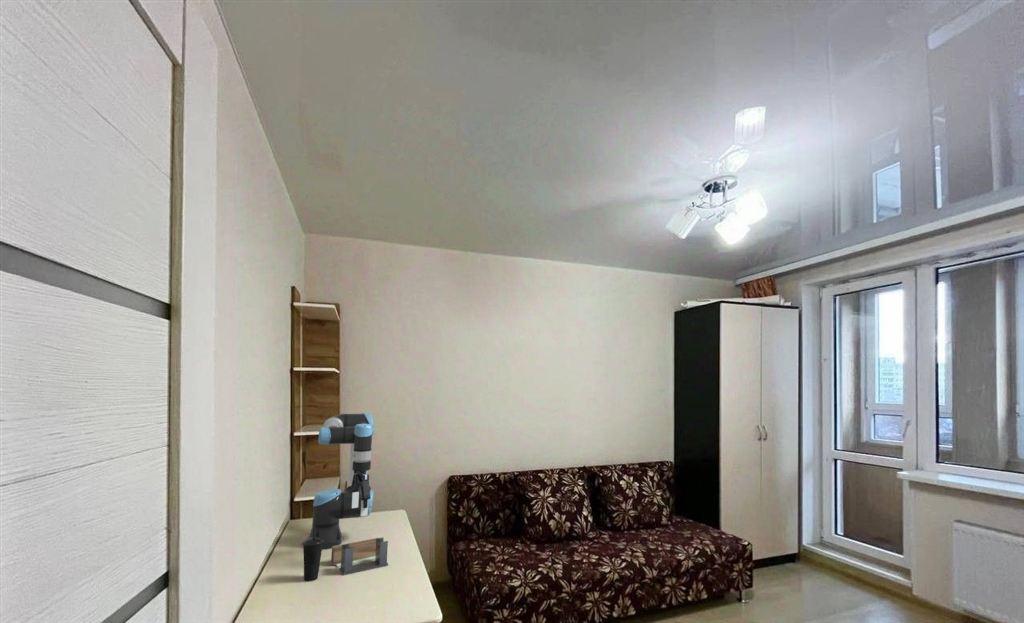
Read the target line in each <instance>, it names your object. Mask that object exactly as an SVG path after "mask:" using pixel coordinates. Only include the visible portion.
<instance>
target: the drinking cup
mask: <svg viewBox="0 0 1024 623" xmlns="http://www.w3.org/2000/svg"><path fill="white" fill-rule="evenodd" d="M323 542H324V539H322V538H319V537H315V524H313V537H311V538H306V539H305V540H303V541H302V545H303V546H302V548H303V552H302V553H303V580H304V582H313V581H317V580H318V579H319V578H318V577H319V571H320V566H321V559H322V558H321V557H322V551H323V549H322V546H323Z"/></svg>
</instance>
